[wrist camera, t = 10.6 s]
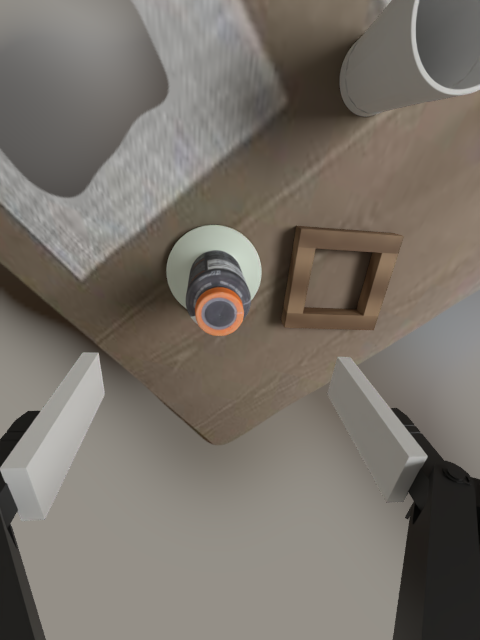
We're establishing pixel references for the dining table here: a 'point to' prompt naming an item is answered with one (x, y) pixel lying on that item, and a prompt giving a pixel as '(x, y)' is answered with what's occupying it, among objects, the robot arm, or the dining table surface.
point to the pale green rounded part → (211, 240)
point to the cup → (413, 56)
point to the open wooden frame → (373, 287)
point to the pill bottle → (217, 293)
